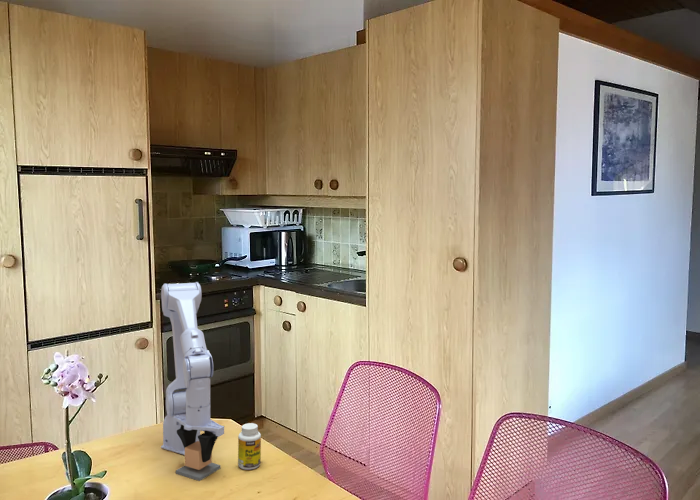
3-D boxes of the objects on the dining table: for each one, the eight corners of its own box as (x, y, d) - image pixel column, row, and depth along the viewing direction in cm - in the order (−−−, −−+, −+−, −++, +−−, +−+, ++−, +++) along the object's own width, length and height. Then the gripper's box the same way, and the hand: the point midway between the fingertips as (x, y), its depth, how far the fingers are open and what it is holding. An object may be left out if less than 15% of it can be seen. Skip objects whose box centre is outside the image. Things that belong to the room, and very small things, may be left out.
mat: (175, 473, 139) (175, 470, 139) (197, 461, 145) (197, 458, 145) (199, 481, 135) (199, 477, 135) (220, 468, 142) (220, 465, 142)
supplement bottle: (243, 472, 140) (243, 432, 139) (234, 463, 144) (234, 424, 144) (264, 467, 143) (264, 427, 142) (255, 458, 148) (255, 420, 147)
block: (184, 465, 139) (184, 447, 139) (197, 458, 143) (197, 441, 143) (198, 470, 137) (198, 451, 137) (211, 462, 141) (211, 444, 141)
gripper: (163, 403, 139) (164, 457, 140) (210, 414, 132) (210, 471, 133) (184, 395, 145) (185, 447, 146) (229, 405, 138) (229, 460, 139)
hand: (198, 458), depth 140 cm, fingers closed on block, 4 cm apart
